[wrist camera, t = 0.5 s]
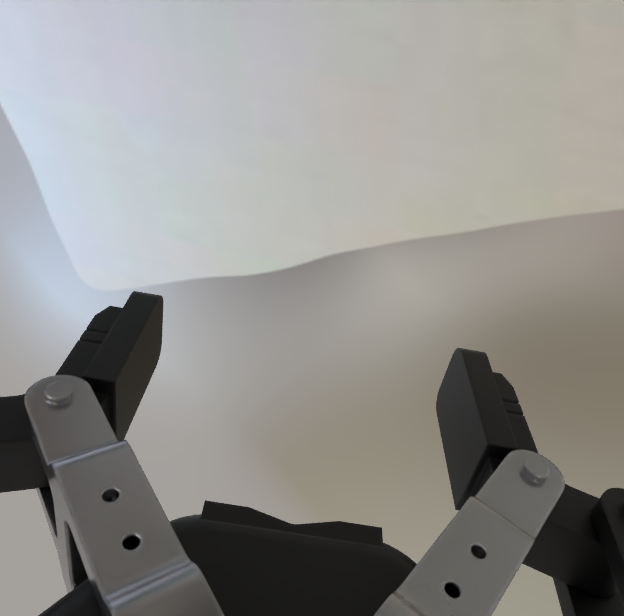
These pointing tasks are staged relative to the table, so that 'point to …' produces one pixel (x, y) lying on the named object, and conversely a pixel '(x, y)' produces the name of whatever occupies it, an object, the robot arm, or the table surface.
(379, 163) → the table surface
